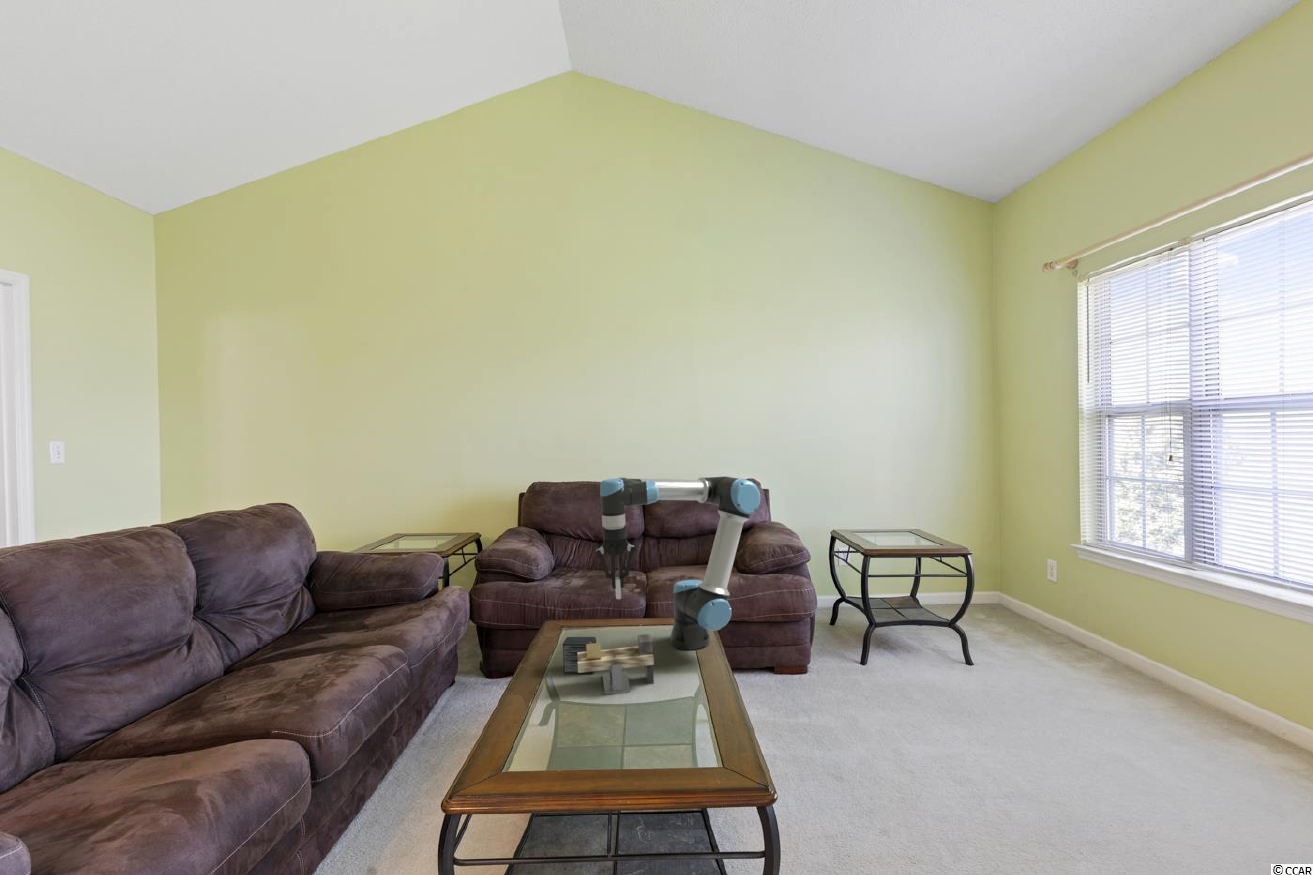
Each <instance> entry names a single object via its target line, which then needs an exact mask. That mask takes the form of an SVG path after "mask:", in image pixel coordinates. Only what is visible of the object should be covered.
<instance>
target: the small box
mask: <svg viewBox="0 0 1313 875" xmlns="http://www.w3.org/2000/svg"><path fill="white" fill-rule="evenodd" d="M593 643H597V637H596V636H566V638H565V640H564V641H563V642H562V656H563V657H562V658H563V674H569V675H570V674H571V675H573V674H574V675H576V674H578V675H579V674H580V675H581V674H585V675H586V674H587V675H593V674H595V672H596V671H591V672H582V673H578V658H577V652H586V644H593Z"/></svg>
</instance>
